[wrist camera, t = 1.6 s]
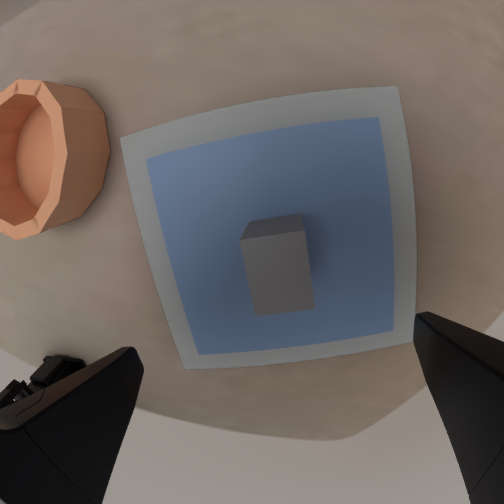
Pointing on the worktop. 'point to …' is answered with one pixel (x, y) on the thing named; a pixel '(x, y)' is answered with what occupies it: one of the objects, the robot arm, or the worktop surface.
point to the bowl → (48, 155)
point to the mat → (263, 119)
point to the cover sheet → (270, 189)
